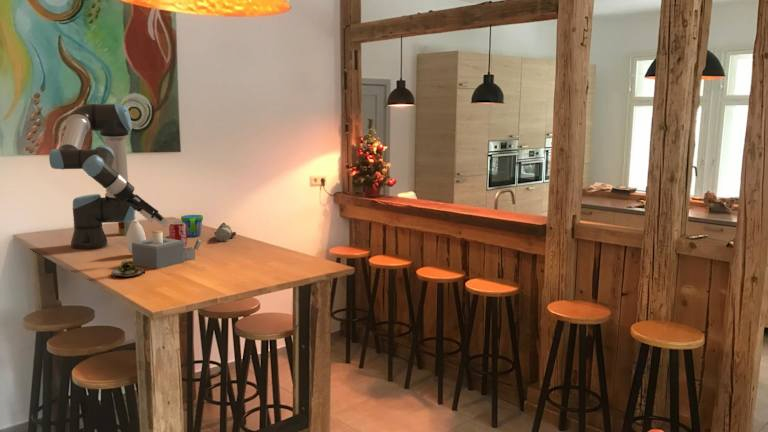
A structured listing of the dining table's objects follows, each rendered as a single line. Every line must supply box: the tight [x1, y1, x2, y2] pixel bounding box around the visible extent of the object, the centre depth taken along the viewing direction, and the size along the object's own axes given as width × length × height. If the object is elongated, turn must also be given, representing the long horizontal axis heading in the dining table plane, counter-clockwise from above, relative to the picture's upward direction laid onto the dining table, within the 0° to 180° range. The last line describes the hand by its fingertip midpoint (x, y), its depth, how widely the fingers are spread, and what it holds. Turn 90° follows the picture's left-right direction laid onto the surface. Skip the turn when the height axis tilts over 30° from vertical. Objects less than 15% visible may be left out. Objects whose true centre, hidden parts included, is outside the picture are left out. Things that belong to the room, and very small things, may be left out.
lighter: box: [184, 239, 202, 261], centre depth 256 cm, size 7×2×8 cm, turn 128°
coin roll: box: [151, 230, 164, 244], centre depth 246 cm, size 4×4×12 cm
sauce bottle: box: [125, 214, 147, 254], centre depth 260 cm, size 8×8×18 cm
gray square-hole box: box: [131, 237, 185, 270], centre depth 247 cm, size 14×14×9 cm
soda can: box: [168, 221, 188, 250], centre depth 269 cm, size 7×7×13 cm
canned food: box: [117, 221, 132, 236], centre depth 306 cm, size 8×8×12 cm
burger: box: [110, 258, 146, 279], centre depth 229 cm, size 12×12×8 cm
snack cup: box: [180, 214, 204, 238], centre depth 304 cm, size 16×10×10 cm
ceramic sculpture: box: [213, 222, 237, 243], centre depth 297 cm, size 11×9×15 cm
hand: (160, 222), depth 246 cm, fingers open, 13 cm apart
